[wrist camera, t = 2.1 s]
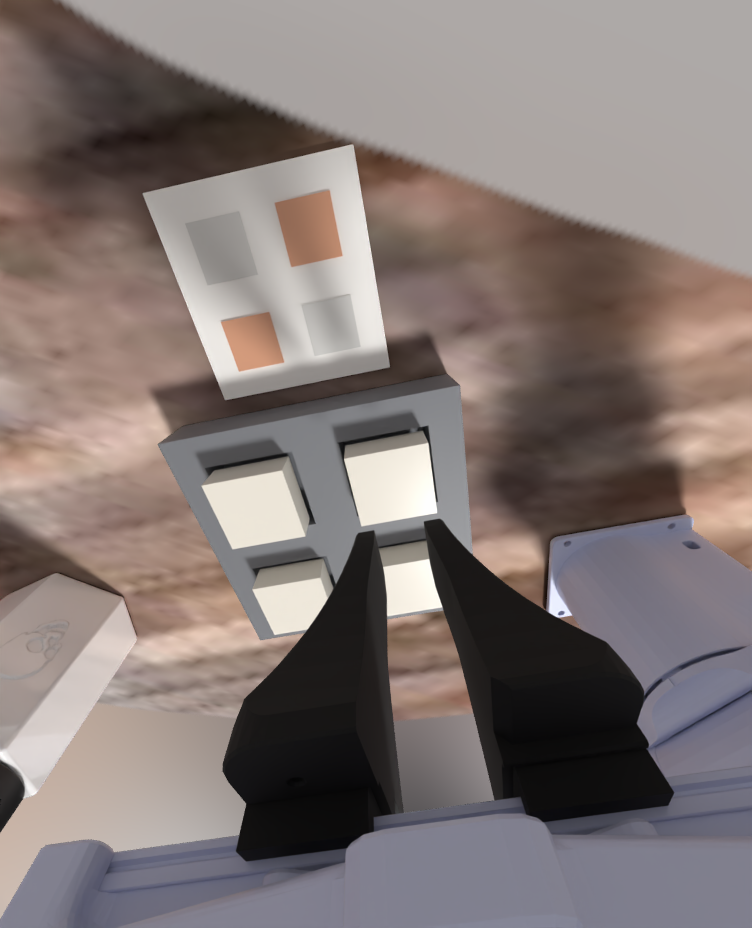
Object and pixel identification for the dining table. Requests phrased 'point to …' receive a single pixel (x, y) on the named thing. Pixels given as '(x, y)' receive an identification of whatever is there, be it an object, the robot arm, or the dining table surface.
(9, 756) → the jar
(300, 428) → the button board
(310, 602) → the button
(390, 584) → the button
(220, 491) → the button
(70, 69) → the dining table surface
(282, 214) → the card
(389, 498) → the button
